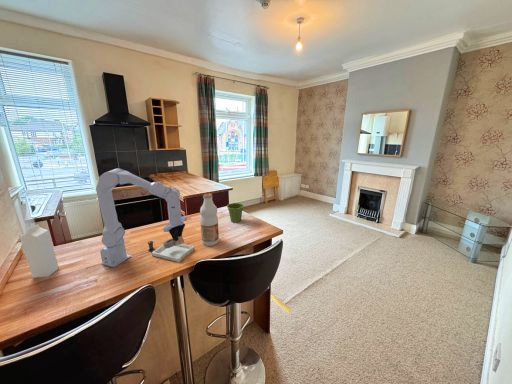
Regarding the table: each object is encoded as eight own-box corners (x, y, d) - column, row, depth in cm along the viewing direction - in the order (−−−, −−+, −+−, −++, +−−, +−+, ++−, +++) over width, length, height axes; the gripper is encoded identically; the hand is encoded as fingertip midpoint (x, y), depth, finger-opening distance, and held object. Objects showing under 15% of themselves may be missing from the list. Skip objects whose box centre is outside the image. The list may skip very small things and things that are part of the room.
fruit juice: (199, 240, 119) (196, 193, 112) (215, 236, 124) (212, 191, 117) (205, 248, 112) (202, 198, 104) (221, 243, 117) (219, 195, 109)
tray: (178, 262, 99) (178, 258, 99) (152, 255, 104) (151, 252, 104) (194, 249, 110) (193, 246, 110) (169, 244, 115) (168, 241, 115)
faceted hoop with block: (162, 249, 104) (159, 243, 104) (171, 242, 111) (169, 236, 110) (178, 246, 100) (175, 240, 100) (187, 239, 107) (184, 233, 106)
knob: (151, 252, 108) (150, 244, 106) (147, 250, 108) (145, 243, 107) (156, 249, 110) (155, 241, 109) (151, 248, 111) (150, 240, 110)
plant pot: (237, 216, 155) (237, 201, 152) (247, 221, 146) (247, 206, 143) (224, 220, 148) (223, 205, 144) (233, 225, 139) (233, 209, 136)
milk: (59, 268, 94) (47, 223, 88) (48, 276, 89) (34, 229, 83) (44, 269, 93) (30, 224, 88) (32, 278, 88) (16, 230, 82)
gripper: (171, 220, 92) (174, 247, 96) (191, 209, 106) (193, 233, 109) (158, 218, 95) (161, 245, 98) (179, 207, 108) (181, 231, 111)
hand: (177, 239), depth 104 cm, fingers closed on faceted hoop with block, 2 cm apart
